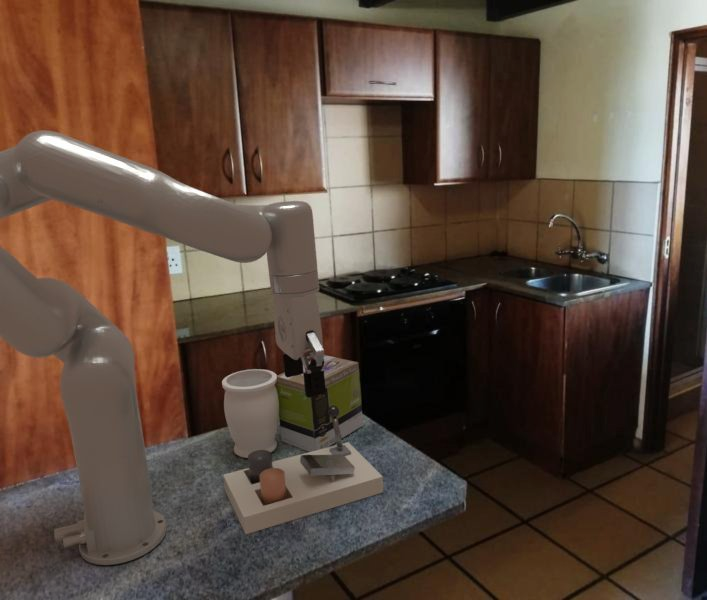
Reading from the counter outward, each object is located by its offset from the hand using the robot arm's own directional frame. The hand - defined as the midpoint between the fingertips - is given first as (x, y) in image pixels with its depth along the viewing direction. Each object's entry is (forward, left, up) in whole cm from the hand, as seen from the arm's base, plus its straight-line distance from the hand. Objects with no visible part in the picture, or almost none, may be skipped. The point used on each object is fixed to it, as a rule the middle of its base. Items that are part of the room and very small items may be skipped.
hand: (304, 384), depth 95 cm
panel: (-1, +2, -20) cm, 20 cm away
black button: (-7, +6, -18) cm, 20 cm away
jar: (-4, +21, -20) cm, 29 cm away
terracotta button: (-7, -1, -18) cm, 19 cm away
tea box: (+10, +20, -20) cm, 30 cm away
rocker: (+3, 0, -15) cm, 15 cm away
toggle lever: (+8, +6, -16) cm, 19 cm away
